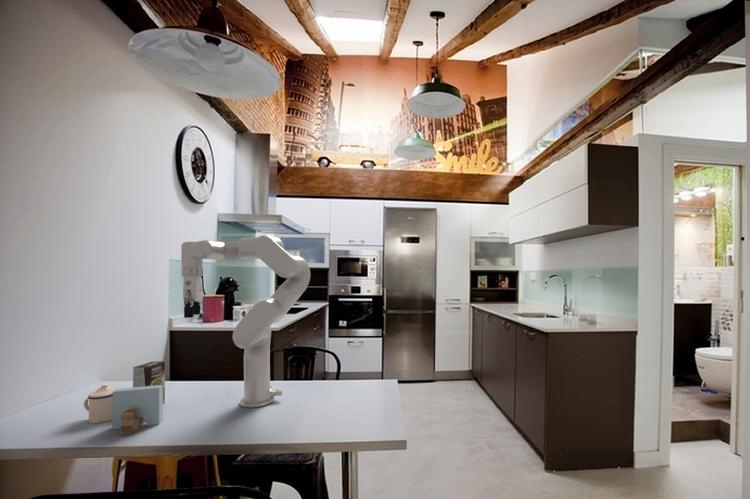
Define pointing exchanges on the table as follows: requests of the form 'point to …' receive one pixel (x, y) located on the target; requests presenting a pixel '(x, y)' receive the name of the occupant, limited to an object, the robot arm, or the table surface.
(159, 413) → the light blue arch block
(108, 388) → the teacup with lid
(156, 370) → the coffee box
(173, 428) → the table surface
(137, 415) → the notched walnut block
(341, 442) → the table surface
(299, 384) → the table surface
